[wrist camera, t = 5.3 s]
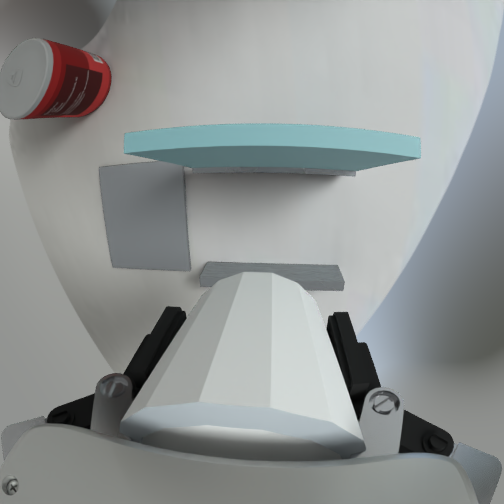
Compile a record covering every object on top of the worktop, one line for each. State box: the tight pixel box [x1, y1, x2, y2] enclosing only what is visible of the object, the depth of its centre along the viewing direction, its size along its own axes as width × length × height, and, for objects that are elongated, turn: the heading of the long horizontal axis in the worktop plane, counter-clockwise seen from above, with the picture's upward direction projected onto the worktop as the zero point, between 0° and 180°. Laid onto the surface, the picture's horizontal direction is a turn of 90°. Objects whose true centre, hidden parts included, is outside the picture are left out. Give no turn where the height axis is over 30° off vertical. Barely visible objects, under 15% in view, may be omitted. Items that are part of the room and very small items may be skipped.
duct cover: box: [124, 124, 421, 171], centre depth 18 cm, size 12×14×1 cm
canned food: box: [0, 38, 111, 120], centre depth 20 cm, size 8×8×11 cm
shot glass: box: [119, 272, 366, 461], centre depth 9 cm, size 7×7×7 cm
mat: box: [99, 161, 191, 271], centre depth 30 cm, size 12×10×1 cm
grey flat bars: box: [193, 167, 356, 291], centre depth 28 cm, size 12×14×4 cm
